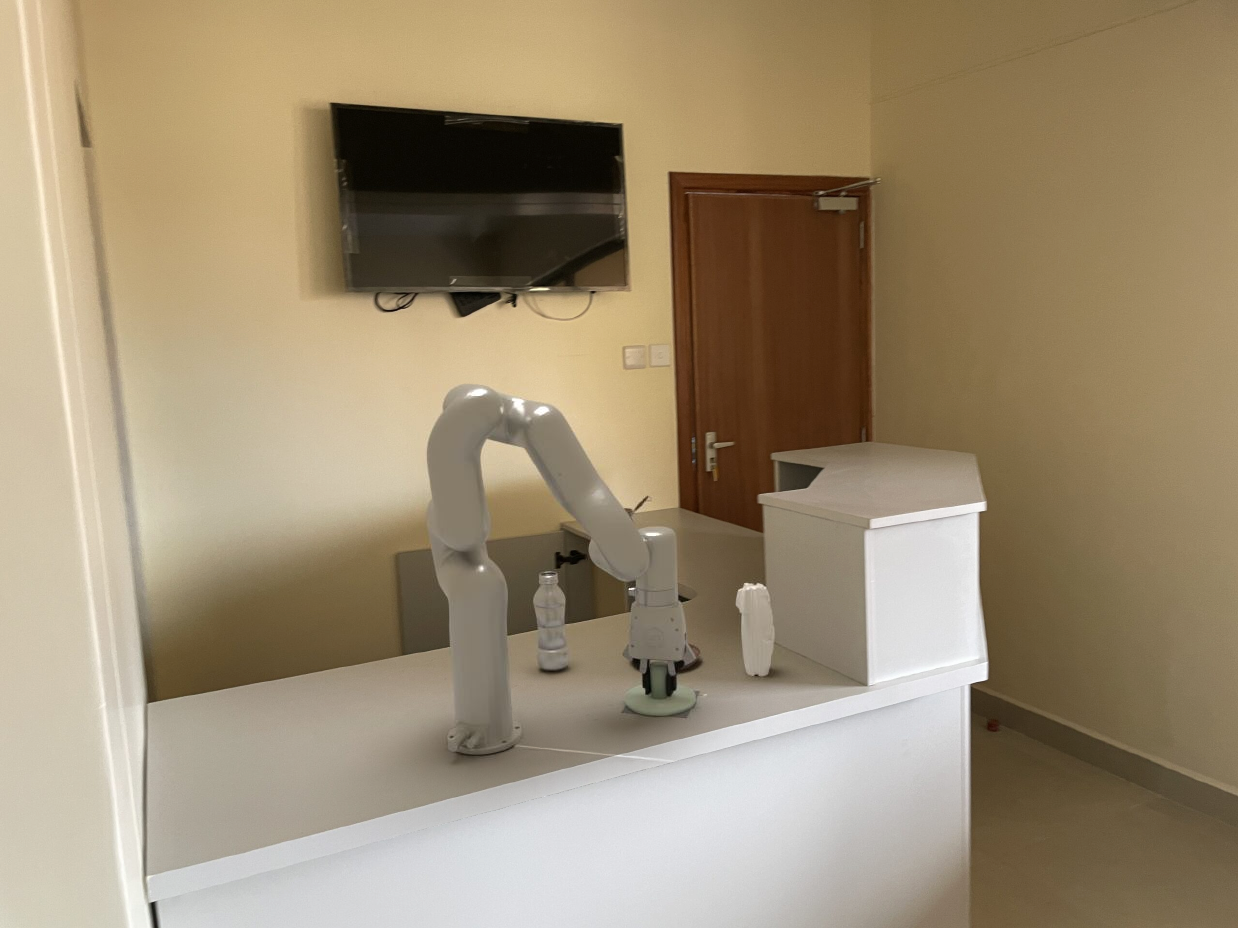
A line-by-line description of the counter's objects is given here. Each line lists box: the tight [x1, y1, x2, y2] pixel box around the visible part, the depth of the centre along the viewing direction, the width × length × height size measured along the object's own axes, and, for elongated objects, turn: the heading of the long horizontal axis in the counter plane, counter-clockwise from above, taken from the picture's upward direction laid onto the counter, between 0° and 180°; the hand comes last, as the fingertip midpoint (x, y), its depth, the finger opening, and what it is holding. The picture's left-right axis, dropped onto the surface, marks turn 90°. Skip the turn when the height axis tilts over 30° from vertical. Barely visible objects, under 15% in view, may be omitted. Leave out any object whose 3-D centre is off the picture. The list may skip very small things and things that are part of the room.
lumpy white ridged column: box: [735, 582, 776, 677], centre depth 172 cm, size 7×18×7 cm
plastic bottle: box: [533, 571, 570, 671], centre depth 179 cm, size 6×7×20 cm
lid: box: [624, 660, 697, 717], centre depth 160 cm, size 13×13×7 cm
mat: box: [620, 690, 701, 719], centre depth 161 cm, size 12×12×1 cm
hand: (659, 691), depth 161 cm, fingers closed on lid, 3 cm apart
